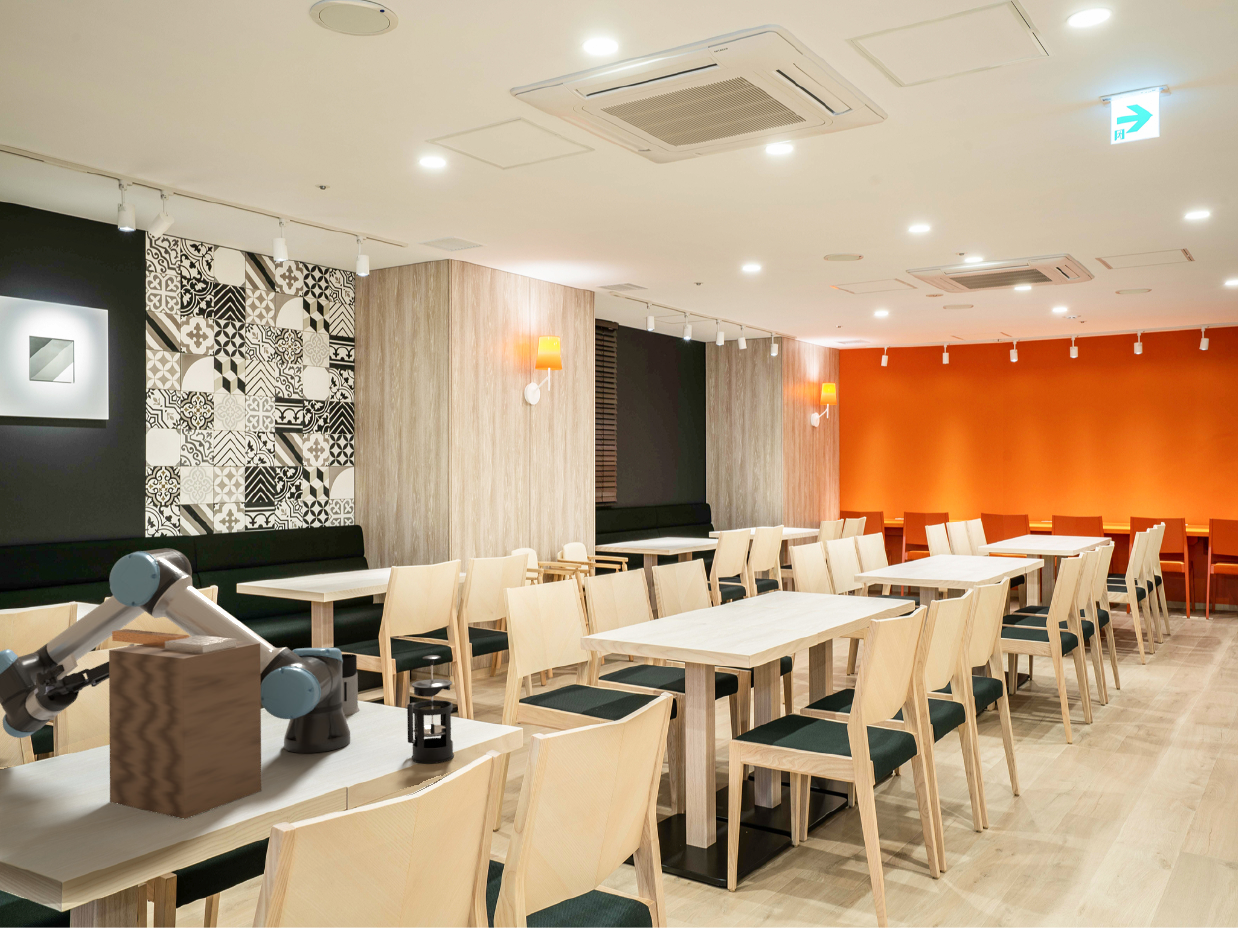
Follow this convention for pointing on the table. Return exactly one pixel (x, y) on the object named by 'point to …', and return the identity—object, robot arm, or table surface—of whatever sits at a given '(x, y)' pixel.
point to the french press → (432, 747)
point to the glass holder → (349, 684)
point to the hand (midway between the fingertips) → (105, 654)
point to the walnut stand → (184, 727)
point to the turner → (175, 641)
